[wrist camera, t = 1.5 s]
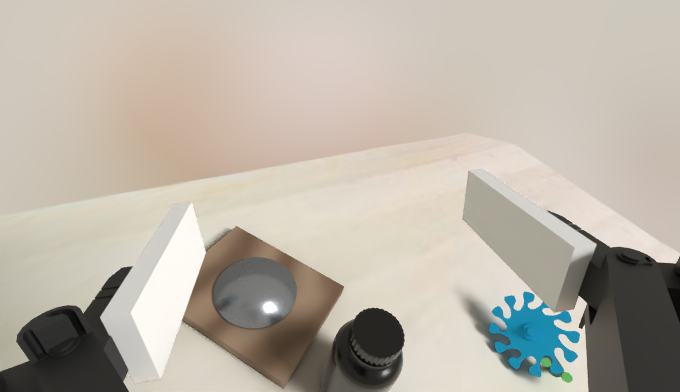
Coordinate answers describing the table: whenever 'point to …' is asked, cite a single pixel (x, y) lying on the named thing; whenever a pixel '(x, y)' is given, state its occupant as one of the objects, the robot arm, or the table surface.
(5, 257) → the table surface
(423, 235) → the table surface
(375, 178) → the table surface
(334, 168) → the table surface
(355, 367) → the supplement bottle
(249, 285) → the walnut board
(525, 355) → the gear
